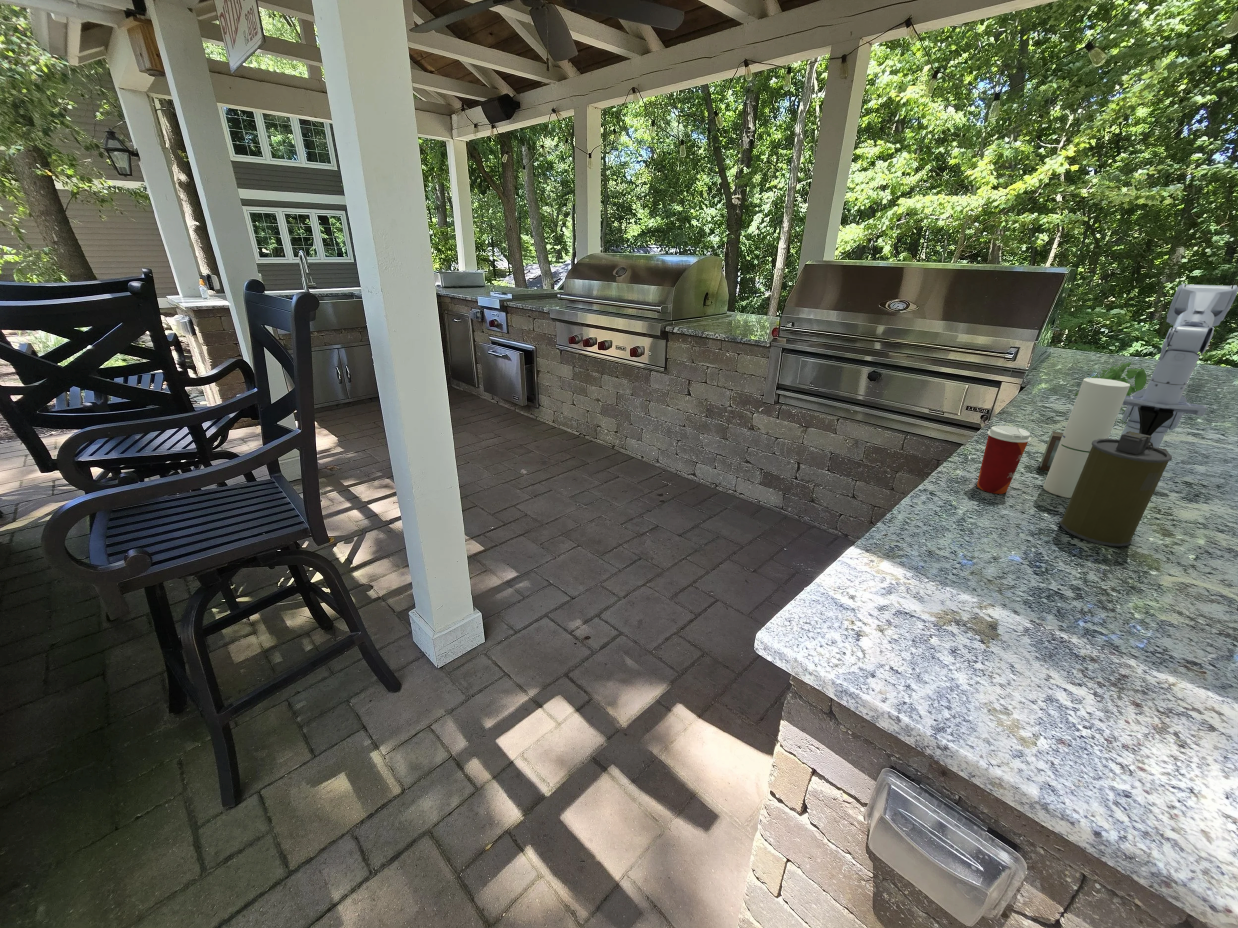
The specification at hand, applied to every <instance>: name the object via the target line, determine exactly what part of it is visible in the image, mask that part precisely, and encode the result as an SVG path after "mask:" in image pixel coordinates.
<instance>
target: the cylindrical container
mask: <svg viewBox="0 0 1238 928" xmlns="http://www.w3.org/2000/svg"><path fill="white" fill-rule="evenodd" d="M1128 383H1129V382H1128ZM1128 383H1125V382H1121V381H1116V380H1110V379H1101V378H1100V377H1099V378H1091V377H1086V378H1083V380H1082V382H1081V385H1080V387H1079V390H1078V392H1079V393H1078V396H1076V398H1075V401H1074V404H1073V406H1072V409H1071V412H1070V414H1069V417H1068V419H1067V422H1066V425H1065V428H1064V431H1063V432H1062V433H1063V435H1062V438H1061V441H1060V443H1059V446H1058V449H1057V451H1056V454H1055V457H1054V459H1053V462H1052V465H1051V467H1050V470H1049V471H1047V472H1048V473H1047V475H1046V478H1045V480H1044V483H1043V485H1042V488H1043V489H1044V490H1045V491H1046V492H1048V493H1050V494H1052V495H1054V496H1058V497H1063V498H1068V499H1071V497H1072V494H1073V492H1074V489H1075V487H1076V484H1077V482H1078V480H1079V477H1080V475H1081V472H1082V470H1083V467H1084V465H1085V462H1086V460H1087V458H1088V455H1089V453H1090V450H1091V448H1092V441H1094V440H1097V439H1109V438H1110V435H1111V433H1112V430H1113V428H1114V425H1115V423H1116V420H1117V418H1118V417H1119V414H1120V411H1121V410H1122V409H1121V407H1123V405H1122V404H1123V402H1124V399H1125V397H1126V394H1127V392H1128V390H1129V387H1130V384H1131V383H1129V384H1128Z"/></svg>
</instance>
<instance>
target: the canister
mask: <svg viewBox="0 0 1238 928" xmlns="http://www.w3.org/2000/svg"><path fill="white" fill-rule="evenodd" d="M1120 436H1121V435H1120ZM1151 437H1152V436H1148V435H1144V434H1140V433H1135V432H1131V431H1129V432H1127V433H1125V434H1122V436H1121V438H1120V437H1119V438H1120V440H1119V438H1108V439H1097V440H1094V441H1092V448H1091V450H1090V453H1089V455H1088V458H1087V460H1086V462H1085V465H1084V467H1083V470H1082V472H1081V475H1080V477H1079V480H1078V482H1077V484H1076V487H1075V489H1074V492H1073V494H1072V497H1071V498H1069V501H1068V504H1067V506H1066V509H1065V511H1064V513H1063V517H1062V518H1061V519H1060V521H1059V525H1060V527H1061V528H1062V529H1063V530H1064V531H1066V532H1067V533H1069V534H1070V535H1072V536H1074V537H1076V538H1078V539H1081V540H1083V541H1086V542H1090V543H1093V544H1097V545H1102V546H1110V547H1116V548H1117V547H1127V546H1129V545H1131V544H1132V542H1133V537H1134V534H1135V533H1136V531H1137V528H1138V527H1139V524H1140V522H1141V520H1142V519H1143V517H1144V514H1145V512H1146V510H1147V508H1148V505H1149V503H1150V501H1151V499H1152V498H1153V495H1154V493H1155V491H1156V489H1157V487H1158V485H1159V483H1160V480H1161V479H1162V476H1163V474H1164V472H1165V470H1166V468H1167V466H1168V464H1169V462H1170V461H1171V460H1172V459H1173V456H1172V455H1171V453H1169V451H1168V452H1166V451H1164V450H1161V449H1159V448H1160V447H1159V448H1157V447H1153V443H1151V442H1150V440H1151Z"/></svg>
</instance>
